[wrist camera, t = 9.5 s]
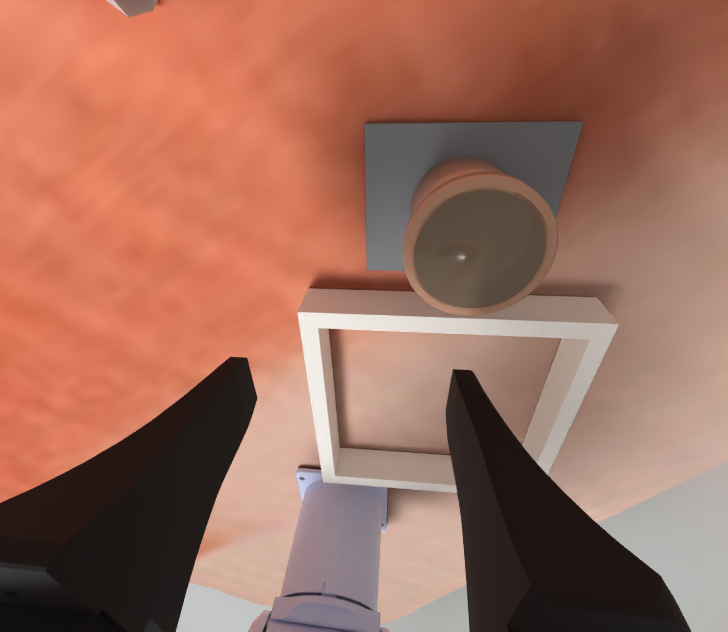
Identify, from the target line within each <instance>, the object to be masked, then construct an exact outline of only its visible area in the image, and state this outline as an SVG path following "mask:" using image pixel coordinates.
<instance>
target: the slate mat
mask: <svg viewBox="0 0 728 632" xmlns="http://www.w3.org/2000/svg"><path fill="white" fill-rule="evenodd" d="M582 126H583V122H581V121H538V122H440V123H365V124H364V127H365V188H366V249H367V270H387V271H405V269H404V263H403V241H404V234H405V231H406V227H407V224H408V222H409V219H410V204H411V200H412V196H413V194H414V191H415V189H416V187H417V185H418V184H419V182H420V181H421V180H422V178H423V177H424V176H425V175H426V174H427V173H428V172H429V171H430V170H431V169H433V168H434V167H436V166H437V165H439V164H440V163H442V162H444V161H447V160H450V159H453V158H457V157H465V156H470V157H478V158H482V159H485V160H488V161H490V162H491V163H493V164H495V165H496V166H497V167H499V168H500V169H501V170H502V171H503V172H504V174H508V175H511V176H513V177H516V178H518V179H520V180H522V181H523V182H525V183H526V184H528V185H529V186H530V187H531V188H533V189H534V190H535V191H536V192H537V193H538V194H539V195H540V196H541V197H542V198H543V199H544V200H545V201H546V203H547V204H548V206H549V207H550V209H551V210H552V213H553V215H554V218H555V219H556V215H557V212H558V208H559V205H560V201H561V198H562V194H563V191H564V188H565V184H566V181H567V177H568V174H569V170H570V167H571V164H572V160H573V157H574V153H575V150H576V146H577V143H578V139H579V136H580V133H581V129H582Z"/></svg>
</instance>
